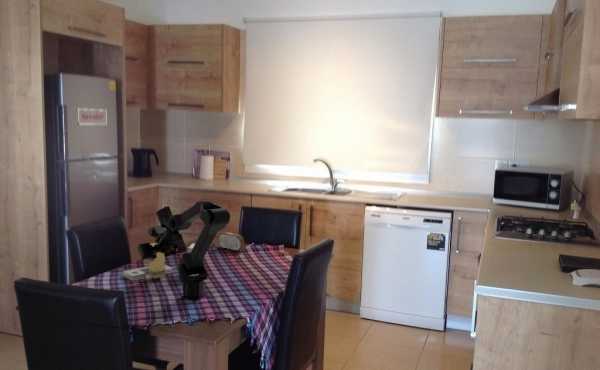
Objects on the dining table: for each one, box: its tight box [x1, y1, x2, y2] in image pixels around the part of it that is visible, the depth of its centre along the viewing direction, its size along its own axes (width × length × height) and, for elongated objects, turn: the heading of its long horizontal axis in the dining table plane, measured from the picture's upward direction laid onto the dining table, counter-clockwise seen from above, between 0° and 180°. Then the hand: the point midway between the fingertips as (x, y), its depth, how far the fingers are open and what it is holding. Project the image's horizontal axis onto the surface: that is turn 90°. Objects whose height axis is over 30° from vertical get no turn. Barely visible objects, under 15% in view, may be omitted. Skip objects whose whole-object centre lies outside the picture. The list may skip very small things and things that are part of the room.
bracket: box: [122, 264, 174, 282], centre depth 216 cm, size 8×18×2 cm, turn 134°
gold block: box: [148, 242, 166, 280], centre depth 210 cm, size 5×5×13 cm
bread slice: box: [218, 231, 246, 252], centre depth 261 cm, size 15×3×8 cm, turn 58°
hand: (155, 259), depth 211 cm, fingers closed on gold block, 4 cm apart
